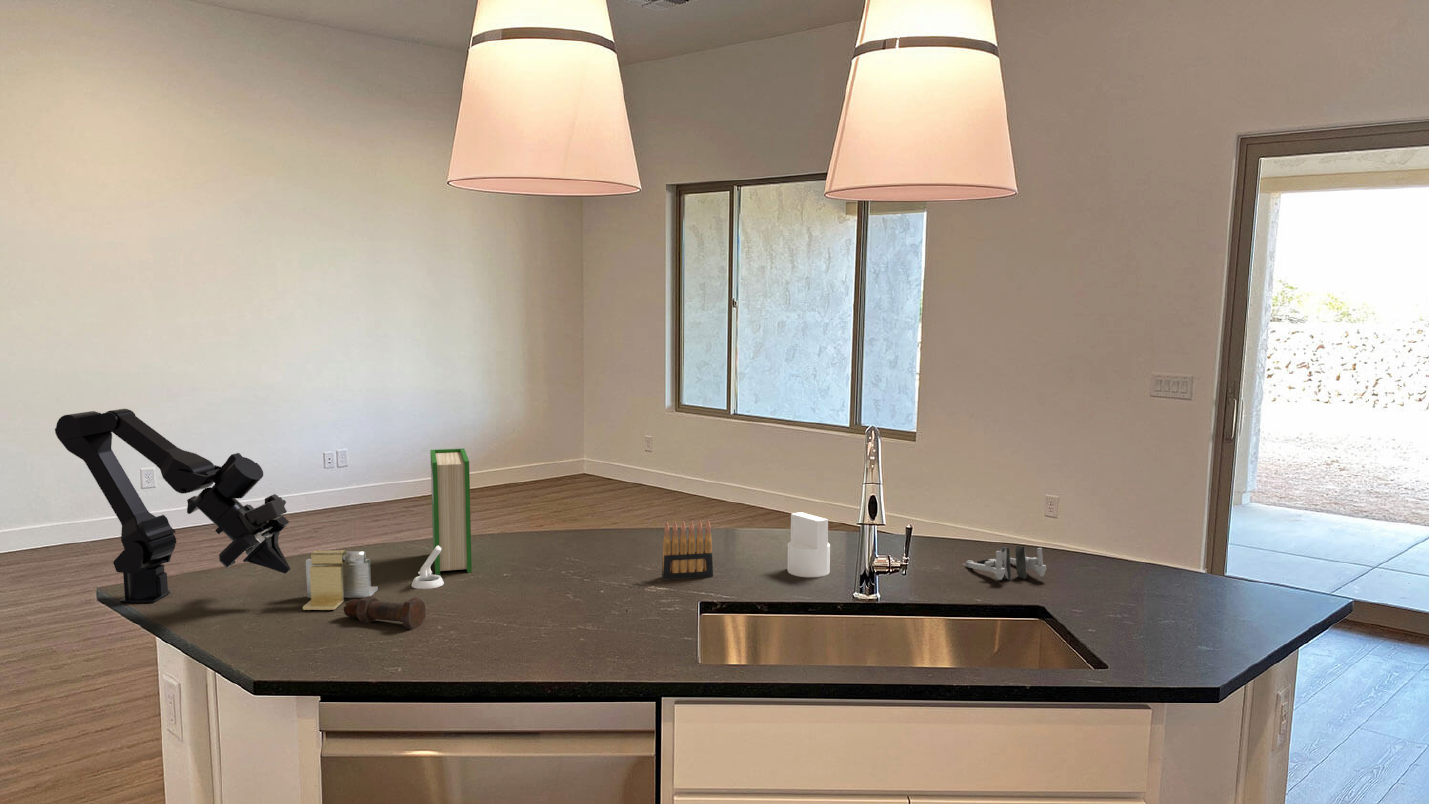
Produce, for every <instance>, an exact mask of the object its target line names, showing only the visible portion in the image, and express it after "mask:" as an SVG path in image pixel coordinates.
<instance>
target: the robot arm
mask: <svg viewBox="0 0 1429 804" xmlns="http://www.w3.org/2000/svg"><path fill="white" fill-rule="evenodd" d="M54 432H55V435H56V438H57V439H58V440H59V442H60V443H61V444H62V446H64V448H65V449H66V450H67V451H68V452H69V453H71V454H72V455H74V456H76V457H78V458H79V459H80V460H82V461H84V463H85V465H86V467H87V469H88V470H89V472H90V473H91V475H92V477H93V479H94V480H95V482H96V484H97V485H98V487H99V489H100V491H101V492H102V494H103V495H104V497H105V499H106V501H107V503H108V504H109V505H110V507H111V509H112V510H113V512H114V514H115V516H116V518H117V519H118V522H120V525H121V533H120V535H121V537H120V541H121V543H122V546H123V550H122V551H121V552H120V554H119V555H118V556H117V557H116V558H115V559H114V560H113V563H112V564H113V566H114V569H115V571H116V573H122V574H123V575H122V576H123V591H124V595H123V596H124V597H122V598H121V599H119V603H121V604H122V603H126V604H127V603H129V604H130V603H133V604H134V603H155V602H157V601H158V600H160V599H162V598H164V597H166V596H168V595H169V594H170V593H171V590H169V588H168V587H169V584H168V573H167V572H166V571H165V563H166V564H167V563H169V562H171V558H172V554H173V552H174V550H175V549H176V544H177V537H176V535H175V533H176V530H175V529H174V528H173V527H172V526H171V524H170V521H169V520H168V518H167V516H165V515H164V514H161V515H158V516H156V515H154V514H153V513H150V512H149V510H148V508H147V507H146V505H145V504H144V502H143V500H142V498H141V497H140V495H139V494H138V492H137V490H136V489H135V487H134V485H133V484H132V482H131V479H130V478H129V476H128V475H127V474H126V472H125V470H124V468H123V466H122V464H121V463H120V461H119V460H118V458H117V456H116V455H115V453H114V452H113V449H112V445H113V444H112V442H113V441H112V440H113V434H114V435H115V436H116V437H118V438H119V439H121V440H122V441H123V442H124V443H125V444H127V445H129V446H130V447H131V448H132V449H133V450H135V451H136V452H138V453H139V454H141V455H142V456H143V457H144V458H146V459H147V460H149V461H150V462H151V463H153V464H154V465H155V466H156V467H157V468H158V469H160V472H161V476H162V479H163V480H164V481H165V482H166V483H167V484H168V485H169V486H170V487H171V488H172V489H173V490H174V491H175V492H176V493H178V494H181V495H183V494H188V493H192V492H196V491H199V490H200V492H199V494H198V495H193V496H191V497H189V498H188V499H187V500H186V501H187V507H186V513H187V514H188V515H190V514H193V513H194V512H196V511H198V510H199V511H200V512H201V513H203V515H204V516H205V517H207V519H209V520H210V521H211V522H212V524H214V525H215V526H216V527H217V528H215V530H214V532H216V533H217V534H218V535H220V534H222V533H224V535H225V536H227V538H228V539H230V540H231V542H230V543H229V544H228V545H227V547H225V548H224V549H223V550H222V551H221V552H220V553H219V554H218V559H219V560H218V561H219V562H220V563H221V564H222V566H224V567H225V568H226V569H229V568H230V567H231V566H233V565H235V563H236V560H237V559H238V558H239V557H240V556H241V555H242V554H244V553H245V555H246V557H245V558H244V559H243V560H242V562H243V563H249V564H253V565H258V566H261V567H264V568H267V569H270V570H273V571H276V572H280V573H283V574H287V573H288V572H289V571H291V567H290V565H289V564H288V561H287V559H286V557H285V556H284V554H283V551H282V550H281V548H280V546H279V536H280V535H281V532H282V531H283V530H284V529H285V528H286V527H287V526H288V525H289V524H290V521H289V520H288V519H287V518H286V517H285V516H284V514H286V513H287V512H288V510H287V509H286V507H285V506H286V503H287V501H286V500H285V499H283V498H282V497H281V496H279V495H277V494H276V493H274V494H271V495H270V496H267V497H266V498H264V504H261V505H260V506H257V507H255V508H254V507H253V506H252V505H251V504H247V503H246V504H245V505H243V504H242V503H241V502H240V501H239V499H243V498H244V497H246V495H248V493H249V492H250V491H251V490H252V489H253V488H254V487H255V486H256V485H257V484H258V483H259V481H261V479H262V478H263V477H264V470H263V469H262V467H261V466H260V464H259V463H258V462H255V461H254V460H252V459H250V458H247V457H245V456H242V454H241V453H239V452H236V453H231V454H230V455H229V457H228V458H227V459H226V461H225V462H224V463H223V464H222V466H220V465H216V464H214V463H213V462H212V461H211V460H209V459H208V458H205V457H203V456H201V455H199V453H198V454H197V453H195V452H192V451H188V450H184V449H182V448H180V447H178V446H176V445H175V444H174V443H172V441H169V440H168V439H167V438H166V437H164V436H163V435H161V434H160V433H159V432H157V431H156V430H155V429H154V428H152V427H151V426H149V425H148V424H147V423H145V421H143V420H141V419H140V418H139V417H137V416H136V414H135V412H134V411H133V410H131V409H128V408H120V409H112V410H108V411H106V412H102V413H101V412H98V411H94V410H93V411H83V412H76V413H71V414H70V413H69V414H64V415H62V416H61V417H59V418H58V420H57V423H56V425H55V428H54ZM212 485H213V486H212Z"/></svg>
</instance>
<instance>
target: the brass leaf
mask: <svg viewBox="0 0 1429 804" xmlns="http://www.w3.org/2000/svg"><path fill="white" fill-rule="evenodd" d="M346 552H347V549H339V550H338V549H315V550H313V551H312V552H311V553H310V557H311V558H310V559H311V562H312V565H343V564H344V563H346V562H345V560H343V555H346ZM310 585H311V598H310V600H309V601H308V602H307V603H306V604H304V605H303V606H302V610H303V611H305V610H307V611H311V610H315V611H317V610H318V611H325V610H326V611H330V610H332V611H333V610H336V609H337V608H338V607H339V606H340V605H341V604H343V602H344V601H345V599H344V594H343V568H342V566H311V567H310ZM344 603H345V602H344Z"/></svg>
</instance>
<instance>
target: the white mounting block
mask: <svg viewBox="0 0 1429 804" xmlns="http://www.w3.org/2000/svg"><path fill="white" fill-rule="evenodd" d="M343 560H345V562H346V563H344V564H343V565H312V562H311V558H307V559H306V560H305V573H306V575H305V577H306V598H307V599H311V585H310V567H311V566H342V568H343V594H344V598H347V599H348V598H350V599H351V598H353V599H355V598H356V599H357V598H360V599H362V598H364V597H367V596H373V595H374V594H375V593H376V592H377V591H378V590H379V586H372V577H371V575H372V574H371V559H370V558H367V553H366V551H360V550H358V551H357V550H356V551H355V550H354V551H347V550H346V555H343Z"/></svg>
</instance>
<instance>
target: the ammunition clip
mask: <svg viewBox="0 0 1429 804" xmlns="http://www.w3.org/2000/svg"><path fill="white" fill-rule="evenodd" d="M693 522H694V521H693V520H690V522H689V526H688V527H689V528H688V536H687V527H686V523H685V521H684V520H683V521H682V522H681V527H680V535H679V529H678V524H677V521H674V522H673V525H672V530H671V531H672V533H671V532H670V526H669V525H670V524H669V522H668V521H666V522H665V524H664V530H663V541H662V565H661V567H662V569H661V577H662V580H664V581H665V580H679V579H682V580H683V579H695V578H696V579H697V578H712V577H714V566H713V563H714V562H713V538H712V530H711V529H712V526H711V523H710V520H709V519H708V520H706V523H705V528H704V529H705V532H704V531H703V525H702V521H701V520H698V523H697V528H696V538H695V525H694V523H693ZM671 534H672V536H671ZM679 537H680V538H679ZM687 537H688V538H687Z"/></svg>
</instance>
